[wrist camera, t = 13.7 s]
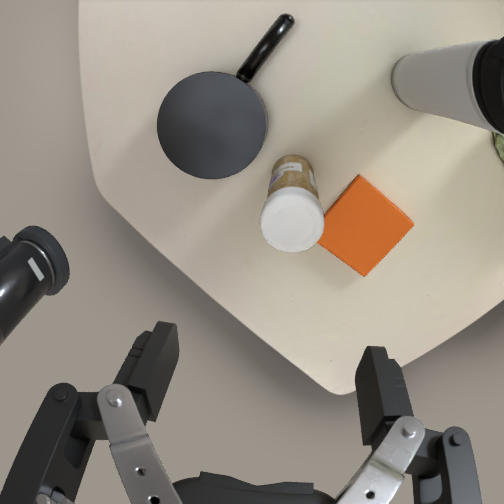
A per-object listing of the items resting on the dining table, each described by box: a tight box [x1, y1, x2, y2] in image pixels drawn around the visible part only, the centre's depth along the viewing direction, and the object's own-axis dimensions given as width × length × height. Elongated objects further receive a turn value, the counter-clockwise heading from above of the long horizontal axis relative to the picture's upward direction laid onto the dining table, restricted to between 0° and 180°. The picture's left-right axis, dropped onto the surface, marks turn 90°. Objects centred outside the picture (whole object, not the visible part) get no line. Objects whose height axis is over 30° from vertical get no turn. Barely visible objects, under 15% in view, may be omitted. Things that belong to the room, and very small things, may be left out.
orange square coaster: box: [317, 175, 414, 277], centre depth 35 cm, size 9×9×1 cm
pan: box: [157, 14, 295, 179], centre depth 29 cm, size 11×19×3 cm, turn 146°
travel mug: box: [391, 37, 504, 135], centre depth 18 cm, size 6×7×20 cm
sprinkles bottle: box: [260, 155, 324, 253], centre depth 28 cm, size 5×5×14 cm
